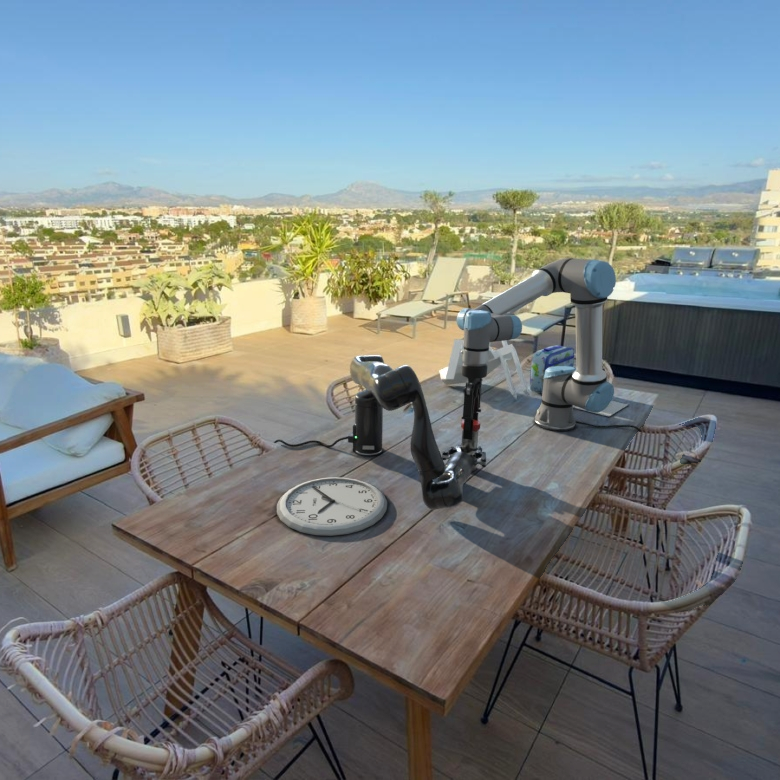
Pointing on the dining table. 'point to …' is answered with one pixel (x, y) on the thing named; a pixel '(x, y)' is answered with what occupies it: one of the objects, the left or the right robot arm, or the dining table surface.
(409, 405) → the fork
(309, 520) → the wall clock
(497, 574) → the dining table surface
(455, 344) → the white plastic object
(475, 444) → the bottle
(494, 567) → the dining table surface
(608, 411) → the invitation card
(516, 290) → the right robot arm
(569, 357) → the lunch box
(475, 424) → the lid
